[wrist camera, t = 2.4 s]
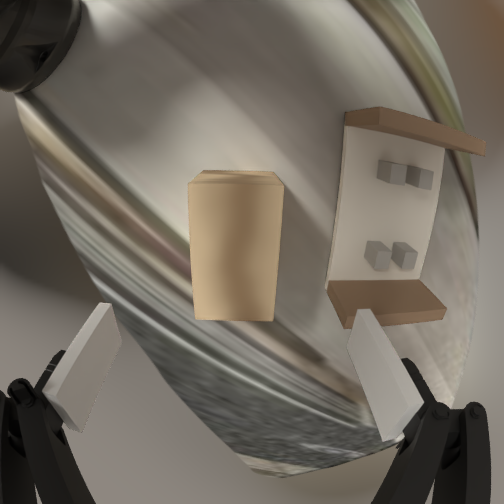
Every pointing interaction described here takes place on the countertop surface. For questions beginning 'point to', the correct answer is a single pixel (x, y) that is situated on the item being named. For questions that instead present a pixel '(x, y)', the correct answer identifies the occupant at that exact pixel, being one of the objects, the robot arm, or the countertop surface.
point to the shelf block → (235, 243)
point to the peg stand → (388, 214)
